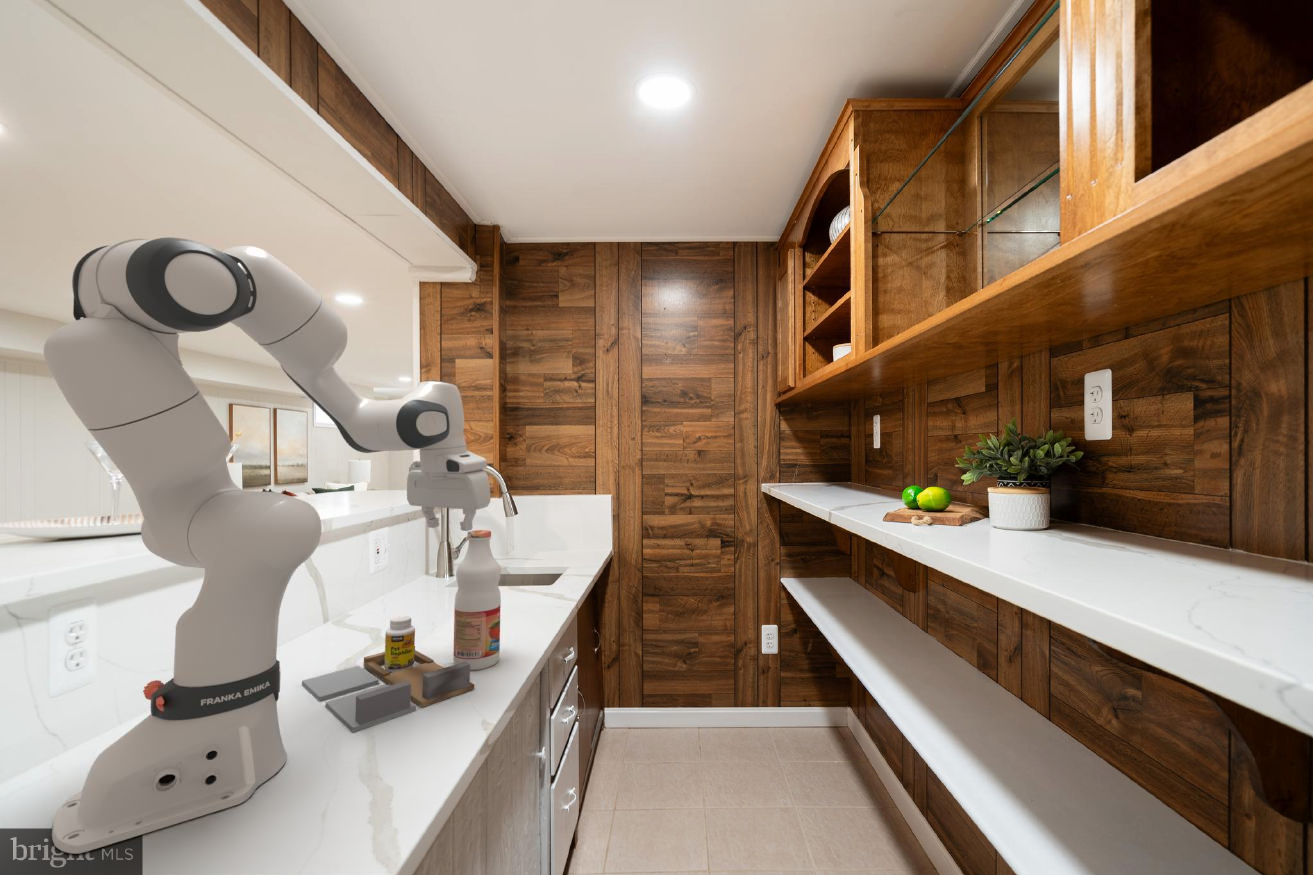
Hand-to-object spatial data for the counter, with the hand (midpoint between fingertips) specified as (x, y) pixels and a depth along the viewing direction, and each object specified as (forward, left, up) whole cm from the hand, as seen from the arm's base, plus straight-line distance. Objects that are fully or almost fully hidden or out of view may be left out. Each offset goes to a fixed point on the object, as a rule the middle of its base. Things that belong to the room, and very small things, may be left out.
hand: (449, 528), depth 107 cm
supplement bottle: (-5, +11, -30) cm, 32 cm away
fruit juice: (+7, +1, -30) cm, 31 cm away
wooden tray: (-5, +4, -29) cm, 30 cm away
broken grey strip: (-16, +4, -29) cm, 34 cm away
